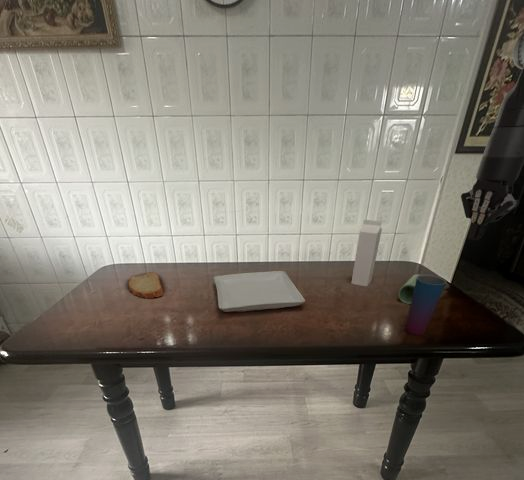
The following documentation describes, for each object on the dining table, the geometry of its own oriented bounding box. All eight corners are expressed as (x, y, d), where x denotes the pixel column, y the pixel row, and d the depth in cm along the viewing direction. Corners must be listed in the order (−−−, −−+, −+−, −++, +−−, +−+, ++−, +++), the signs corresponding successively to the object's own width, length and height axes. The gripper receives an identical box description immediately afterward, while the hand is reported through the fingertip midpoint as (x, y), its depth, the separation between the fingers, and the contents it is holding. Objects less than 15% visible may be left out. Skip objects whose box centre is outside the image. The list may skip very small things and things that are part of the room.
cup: (397, 330, 85) (412, 279, 76) (408, 321, 88) (423, 272, 80) (422, 339, 81) (440, 286, 72) (432, 329, 85) (450, 279, 76)
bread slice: (157, 300, 103) (155, 289, 100) (112, 294, 107) (109, 284, 104) (182, 280, 117) (180, 271, 115) (142, 276, 121) (139, 267, 119)
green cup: (431, 276, 100) (423, 287, 93) (425, 294, 104) (417, 306, 97) (411, 272, 103) (401, 282, 96) (406, 290, 107) (396, 301, 100)
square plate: (220, 319, 91) (219, 307, 89) (214, 284, 113) (213, 274, 111) (305, 310, 95) (306, 299, 93) (283, 278, 117) (284, 269, 115)
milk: (355, 278, 117) (366, 218, 104) (371, 281, 114) (384, 219, 101) (350, 284, 112) (361, 221, 100) (367, 287, 110) (379, 223, 97)
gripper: (552, 153, 58) (511, 244, 68) (490, 150, 68) (462, 230, 78) (523, 156, 56) (485, 249, 66) (463, 153, 66) (439, 234, 76)
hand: (473, 239), depth 72 cm, fingers closed
